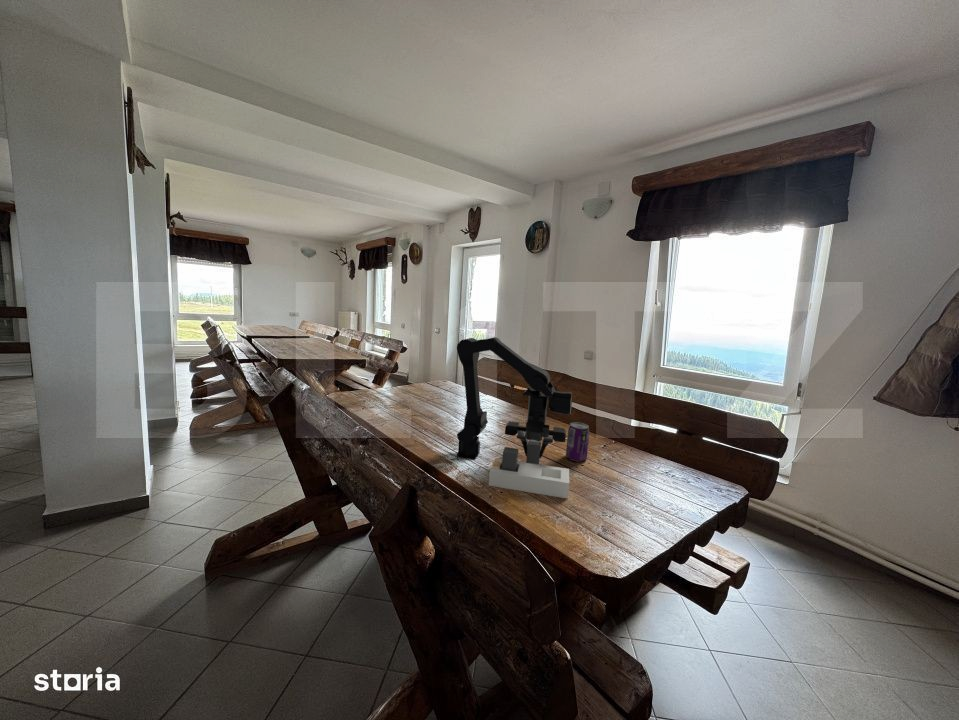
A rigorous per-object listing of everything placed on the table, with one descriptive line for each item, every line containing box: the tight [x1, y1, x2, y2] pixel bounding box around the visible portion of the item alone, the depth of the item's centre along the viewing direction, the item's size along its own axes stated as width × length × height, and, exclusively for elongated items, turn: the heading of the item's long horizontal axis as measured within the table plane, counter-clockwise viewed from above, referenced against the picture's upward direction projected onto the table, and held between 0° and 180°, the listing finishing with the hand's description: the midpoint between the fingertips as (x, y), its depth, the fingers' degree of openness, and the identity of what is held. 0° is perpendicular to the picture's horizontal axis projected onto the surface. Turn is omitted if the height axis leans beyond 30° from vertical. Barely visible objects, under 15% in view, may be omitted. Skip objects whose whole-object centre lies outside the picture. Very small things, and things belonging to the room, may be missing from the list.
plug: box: [525, 440, 542, 465], centre depth 117 cm, size 4×4×9 cm
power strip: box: [488, 446, 570, 500], centre depth 105 cm, size 22×9×10 cm, turn 77°
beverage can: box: [565, 421, 590, 463], centre depth 125 cm, size 7×7×12 cm
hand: (533, 456), depth 117 cm, fingers closed on plug, 4 cm apart
